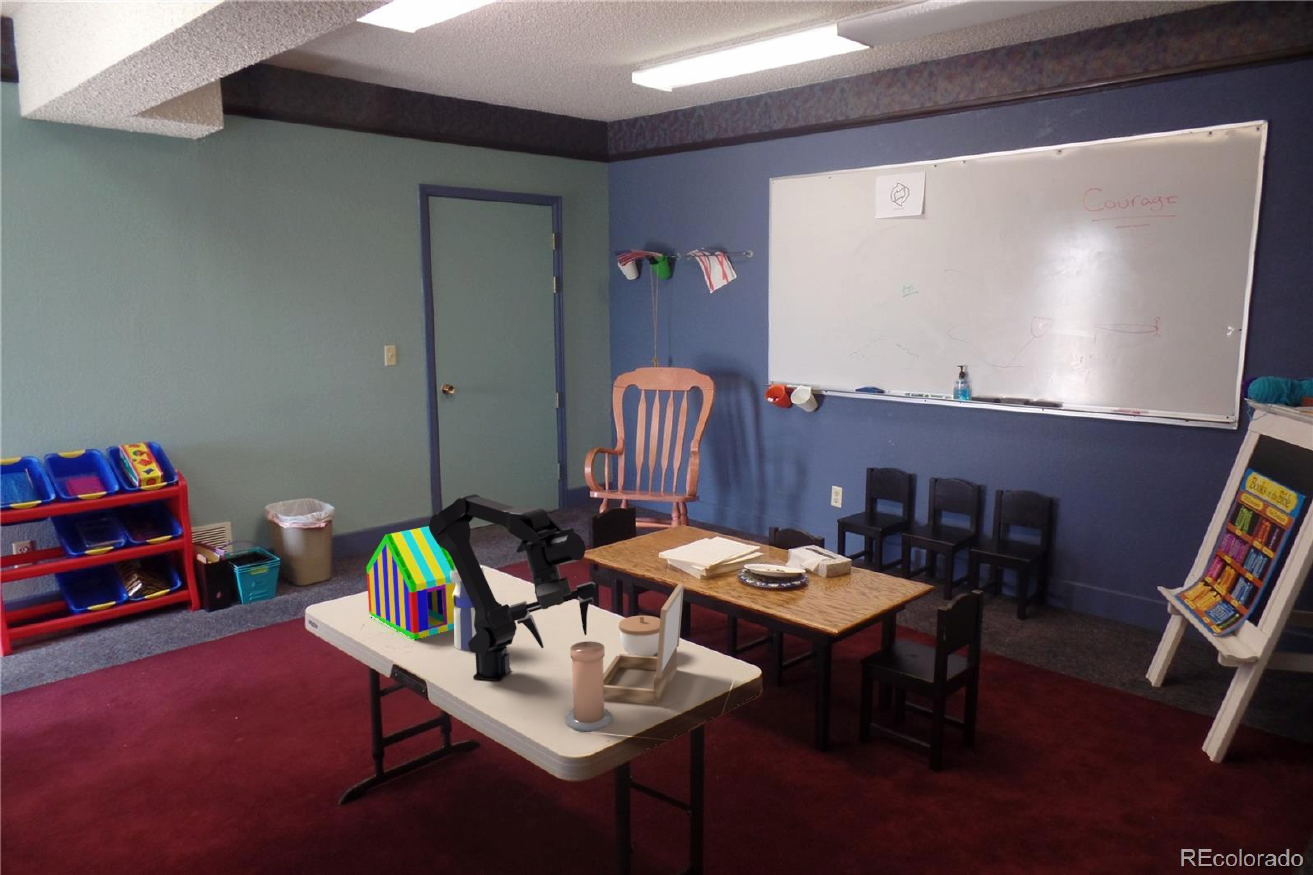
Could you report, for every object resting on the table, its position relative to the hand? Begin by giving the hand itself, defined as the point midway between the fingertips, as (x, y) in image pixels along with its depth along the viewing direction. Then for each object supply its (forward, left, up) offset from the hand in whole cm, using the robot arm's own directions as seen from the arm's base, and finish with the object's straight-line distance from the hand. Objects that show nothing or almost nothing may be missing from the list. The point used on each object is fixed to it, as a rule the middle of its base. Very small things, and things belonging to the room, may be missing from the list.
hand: (564, 641), depth 181 cm
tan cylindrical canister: (+8, -10, -11) cm, 17 cm away
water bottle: (-33, +23, -12) cm, 42 cm away
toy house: (-54, +36, -12) cm, 66 cm away
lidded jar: (+10, +25, -12) cm, 30 cm away
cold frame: (+13, +8, -12) cm, 20 cm away
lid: (+20, +8, -6) cm, 23 cm away
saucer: (+8, -10, -12) cm, 18 cm away
